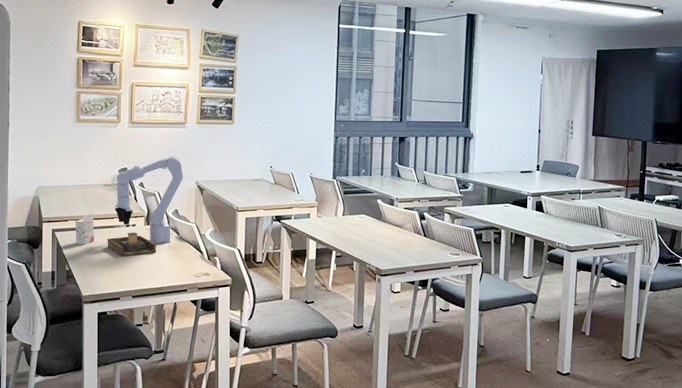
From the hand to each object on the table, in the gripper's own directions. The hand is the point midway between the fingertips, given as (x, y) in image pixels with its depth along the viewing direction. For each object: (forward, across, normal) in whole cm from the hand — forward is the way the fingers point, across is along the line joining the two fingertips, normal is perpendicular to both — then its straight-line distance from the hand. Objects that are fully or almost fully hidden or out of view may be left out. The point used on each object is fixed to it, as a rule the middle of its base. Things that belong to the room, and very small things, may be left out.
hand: (123, 223), depth 344 cm
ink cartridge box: (+10, -8, -17) cm, 21 cm away
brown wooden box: (+10, +17, -2) cm, 20 cm away
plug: (+10, +19, -2) cm, 21 cm away
